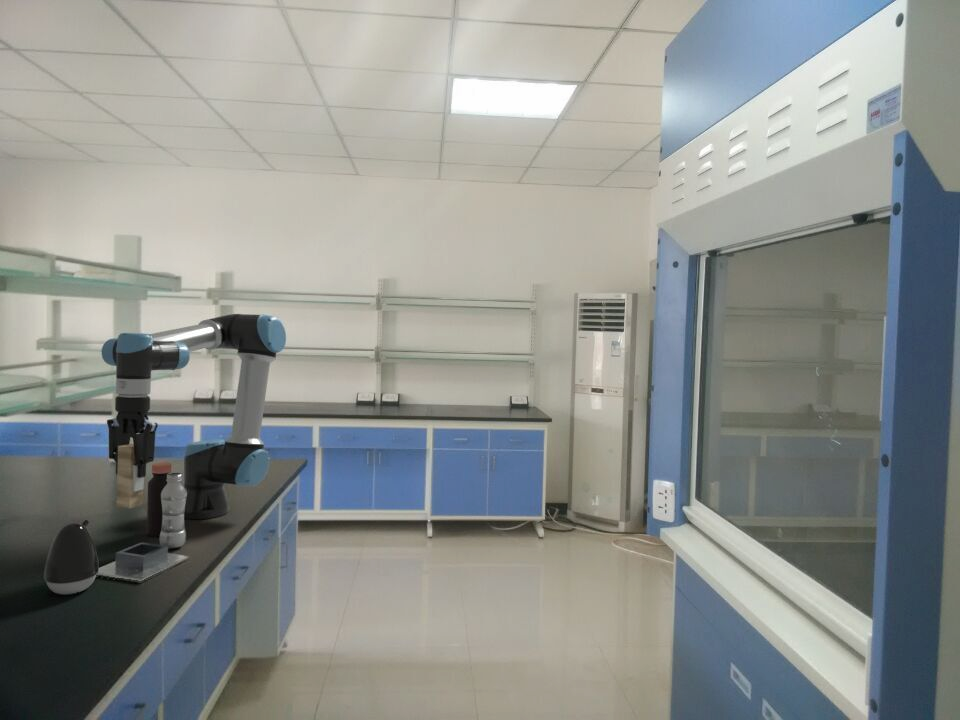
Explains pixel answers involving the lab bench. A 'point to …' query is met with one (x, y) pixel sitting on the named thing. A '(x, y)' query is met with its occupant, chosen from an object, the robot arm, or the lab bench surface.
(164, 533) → the plastic bottle
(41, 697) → the lab bench surface
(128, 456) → the beech rail
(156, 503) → the vinegar
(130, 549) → the grey socket base
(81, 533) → the dark grey egg shape
